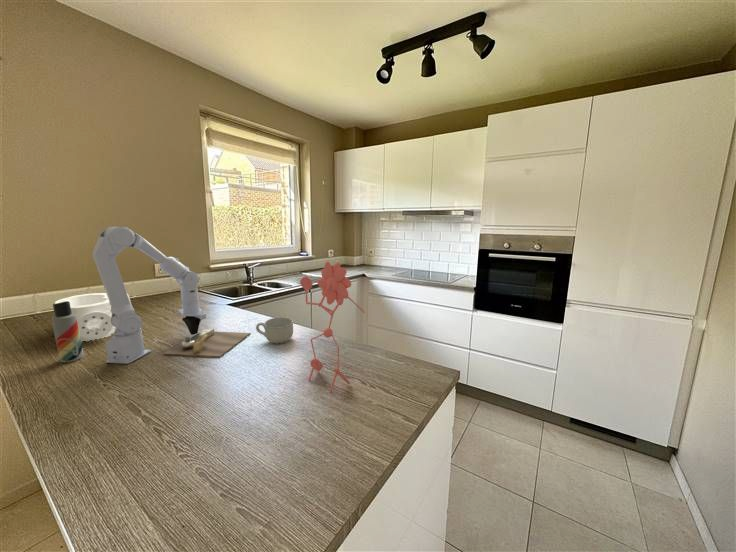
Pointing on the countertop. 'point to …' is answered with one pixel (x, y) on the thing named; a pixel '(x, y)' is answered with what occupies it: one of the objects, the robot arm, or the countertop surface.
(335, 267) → the figurine
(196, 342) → the brass keeper
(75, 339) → the lotion bottle
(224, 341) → the walnut board
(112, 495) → the countertop surface
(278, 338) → the teacup
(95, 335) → the housing
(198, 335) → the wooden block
